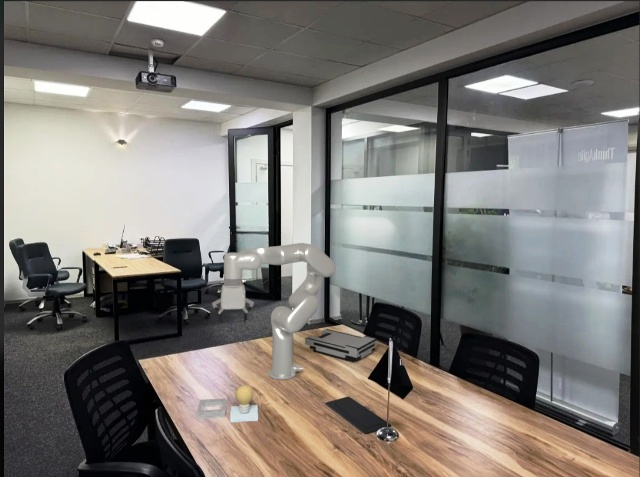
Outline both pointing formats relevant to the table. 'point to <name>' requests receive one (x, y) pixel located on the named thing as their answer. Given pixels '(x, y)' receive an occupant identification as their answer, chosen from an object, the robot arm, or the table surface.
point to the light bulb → (244, 398)
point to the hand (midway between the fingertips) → (233, 322)
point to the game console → (342, 345)
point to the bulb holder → (211, 413)
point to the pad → (244, 414)
